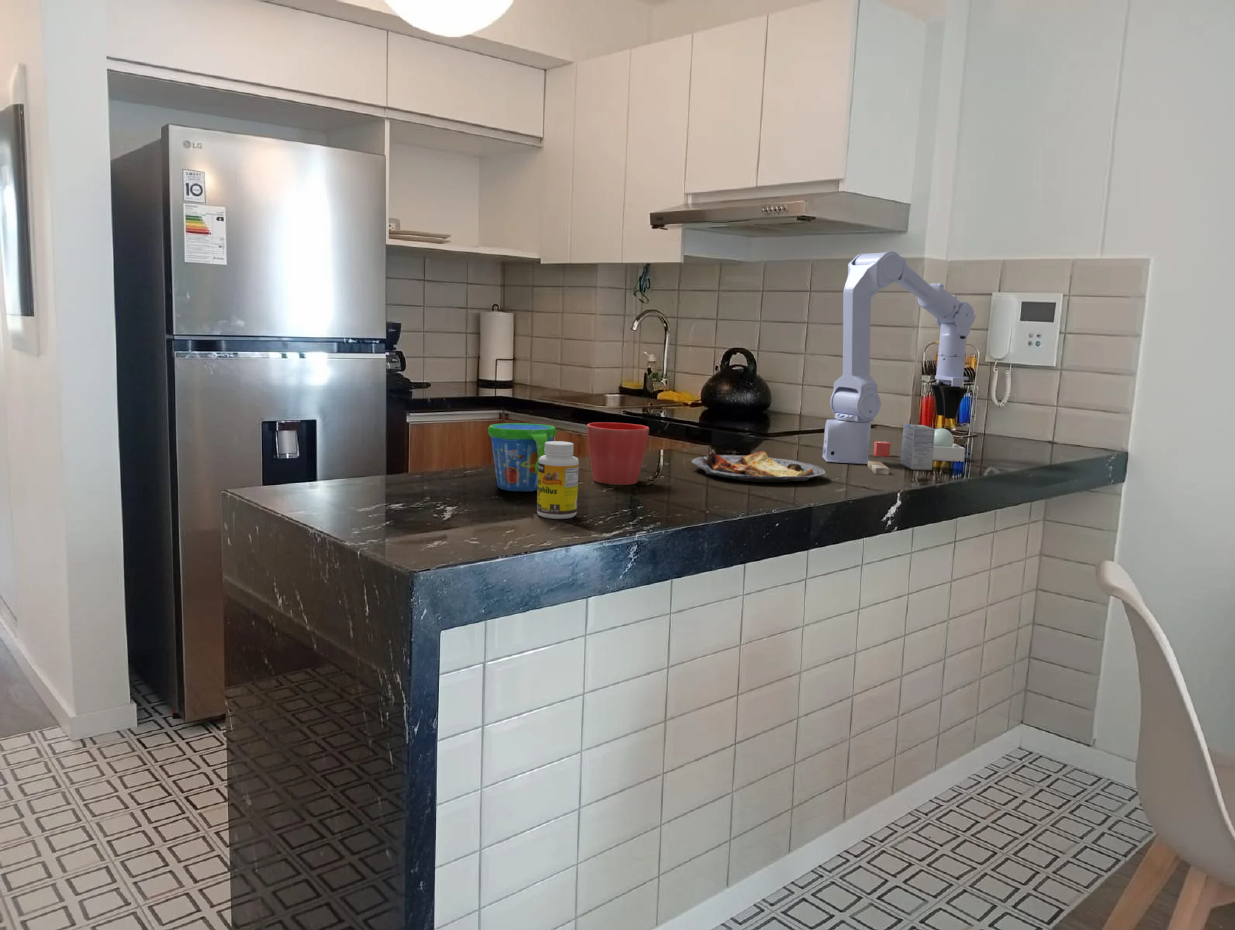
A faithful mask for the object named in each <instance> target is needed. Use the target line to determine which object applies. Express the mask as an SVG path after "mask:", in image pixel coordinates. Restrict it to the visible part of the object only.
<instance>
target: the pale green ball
mask: <svg viewBox="0 0 1235 930" xmlns="http://www.w3.org/2000/svg"><path fill="white" fill-rule="evenodd" d="M934 429H935V436H934V446H936V447H952V446H953V444H954V441H955V440H954V439H955V438H954V436H953V434H952V432H950V431H949V430H948V429H946V428H941V427H940V428H939V427H938V428H934Z"/></svg>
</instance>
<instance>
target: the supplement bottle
mask: <svg viewBox="0 0 1235 930" xmlns="http://www.w3.org/2000/svg"><path fill="white" fill-rule="evenodd" d="M574 445H575V444H574V443H573V442H570V441H562V440H559V441H558V440H553V441H549V442H545V449H544V451H545V452H544V453H545V454H546V455H543V456H541V457H540V458H539V462H538V490H537V491H536V493H537V495H536V497H537V498H536V512H537V515H538V516H540V517H542V518H545V519H552V520H565V519H572V518H574V517H575V516H576V515H577V512H578V511H577V510H578V495H579V494H578V493H579V492H578V491H579V488H578V487H579V465H580V463H579V461H580V460H579V458H578V457H576V456H574V447H575V446H574Z"/></svg>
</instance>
